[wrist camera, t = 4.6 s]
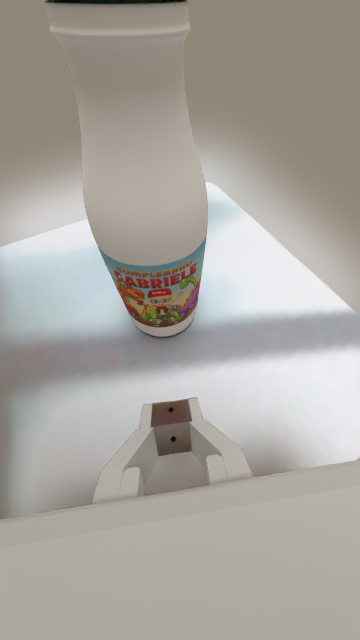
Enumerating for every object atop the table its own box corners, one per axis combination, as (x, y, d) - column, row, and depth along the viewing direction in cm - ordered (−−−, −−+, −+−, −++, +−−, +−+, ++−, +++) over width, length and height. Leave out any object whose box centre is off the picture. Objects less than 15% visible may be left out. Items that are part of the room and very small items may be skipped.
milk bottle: (124, 294, 23) (-61, -117, 5) (180, 277, 24) (184, -94, 7) (142, 349, 19) (-210, -298, 2) (206, 324, 21) (350, -176, 3)
